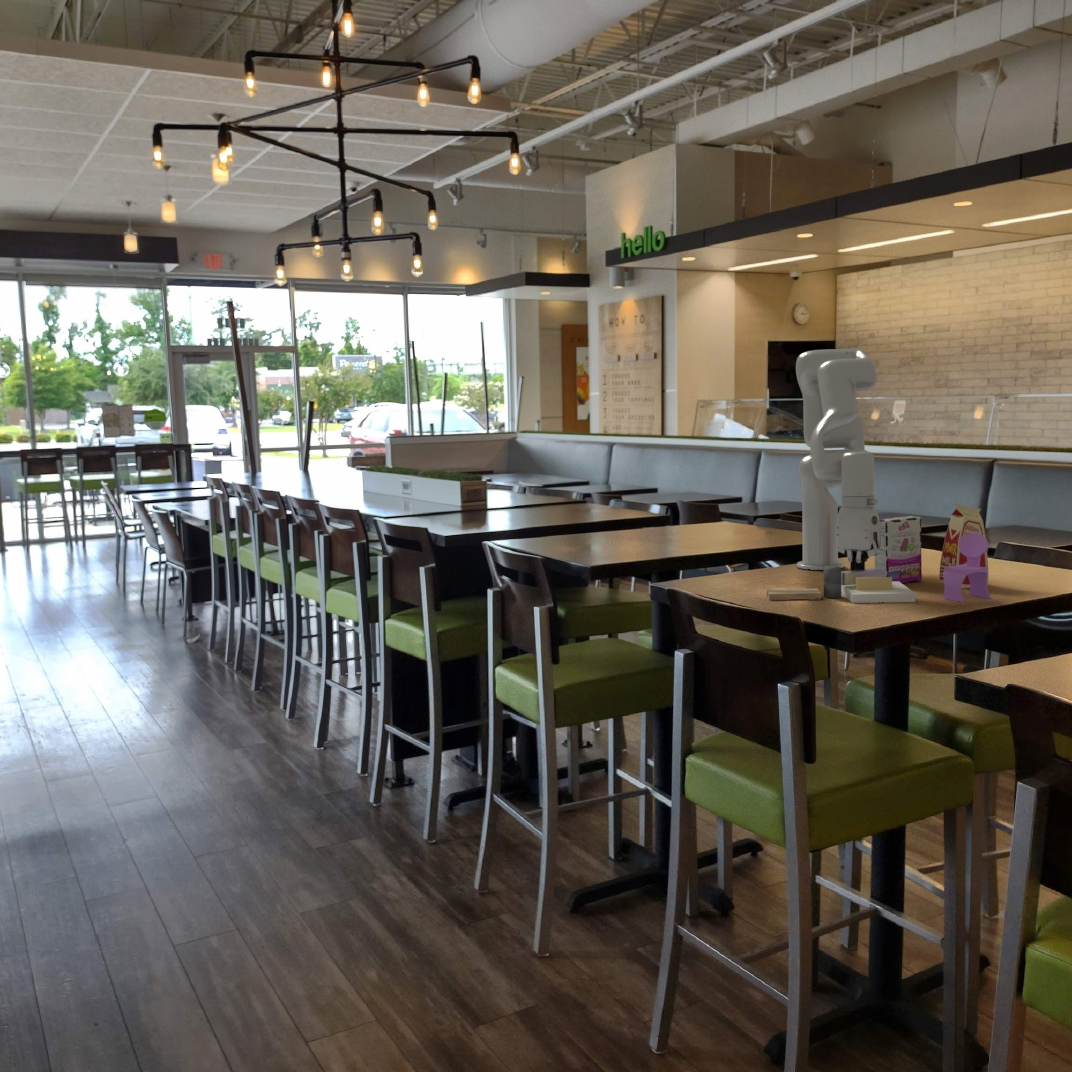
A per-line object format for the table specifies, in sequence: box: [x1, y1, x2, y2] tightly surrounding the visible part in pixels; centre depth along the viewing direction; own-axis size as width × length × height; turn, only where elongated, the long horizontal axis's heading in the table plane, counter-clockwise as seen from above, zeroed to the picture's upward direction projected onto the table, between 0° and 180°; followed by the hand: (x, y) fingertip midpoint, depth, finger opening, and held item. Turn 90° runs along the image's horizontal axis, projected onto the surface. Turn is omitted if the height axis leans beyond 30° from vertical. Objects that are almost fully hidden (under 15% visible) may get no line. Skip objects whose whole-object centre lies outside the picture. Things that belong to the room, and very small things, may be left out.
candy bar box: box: [874, 515, 923, 584], centre depth 254 cm, size 11×5×16 cm, turn 112°
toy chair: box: [942, 533, 993, 603], centre depth 230 cm, size 8×9×15 cm
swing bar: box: [841, 567, 886, 586], centre depth 242 cm, size 12×2×3 cm, turn 108°
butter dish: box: [841, 577, 916, 604], centre depth 238 cm, size 16×14×5 cm
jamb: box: [766, 566, 842, 601], centre depth 240 cm, size 6×17×7 cm, turn 83°
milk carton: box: [938, 503, 990, 589], centre depth 248 cm, size 9×9×20 cm
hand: (857, 578), depth 245 cm, fingers closed
